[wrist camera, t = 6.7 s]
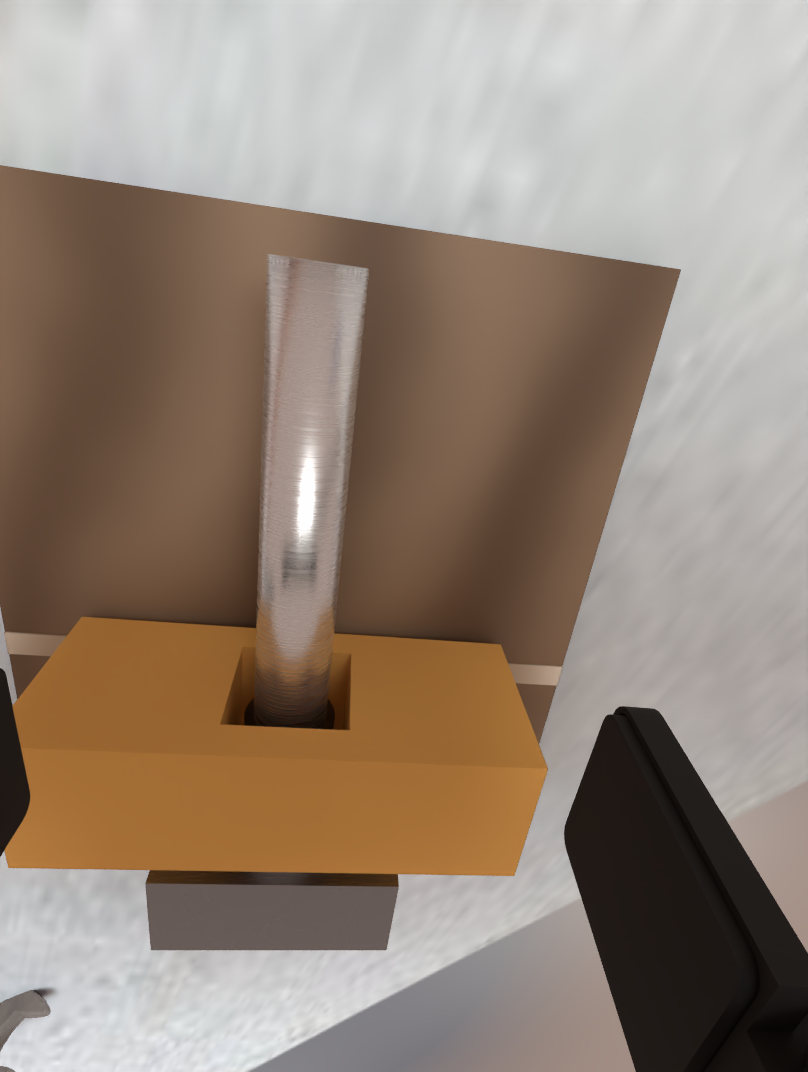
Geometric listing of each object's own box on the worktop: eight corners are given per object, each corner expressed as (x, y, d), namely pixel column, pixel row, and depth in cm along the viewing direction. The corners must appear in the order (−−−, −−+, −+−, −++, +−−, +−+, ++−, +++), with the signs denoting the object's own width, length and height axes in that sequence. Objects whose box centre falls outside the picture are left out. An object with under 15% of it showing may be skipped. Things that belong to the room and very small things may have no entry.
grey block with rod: (465, 281, 15) (514, 290, 10) (380, 812, 23) (386, 950, 18) (178, 240, 14) (91, 229, 9) (193, 806, 22) (150, 950, 17)
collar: (500, 644, 19) (547, 769, 14) (478, 737, 21) (514, 875, 16) (81, 616, 17) (-20, 746, 13) (93, 719, 19) (8, 867, 14)
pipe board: (662, 269, 16) (681, 269, 15) (511, 795, 24) (517, 817, 23) (-55, 159, 14) (-85, 152, 13) (49, 780, 22) (35, 803, 21)
